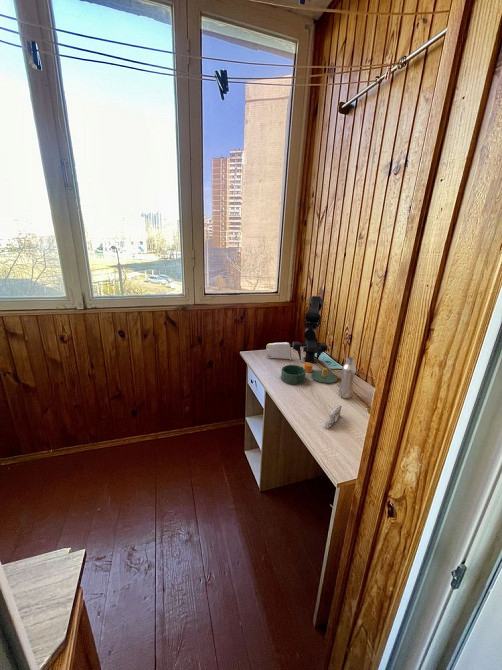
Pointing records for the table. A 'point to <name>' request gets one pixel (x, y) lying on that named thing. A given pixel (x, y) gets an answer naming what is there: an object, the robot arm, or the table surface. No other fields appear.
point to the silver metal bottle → (347, 378)
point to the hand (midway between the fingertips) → (308, 360)
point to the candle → (307, 367)
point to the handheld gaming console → (278, 350)
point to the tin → (293, 374)
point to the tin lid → (324, 376)
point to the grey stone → (333, 416)
